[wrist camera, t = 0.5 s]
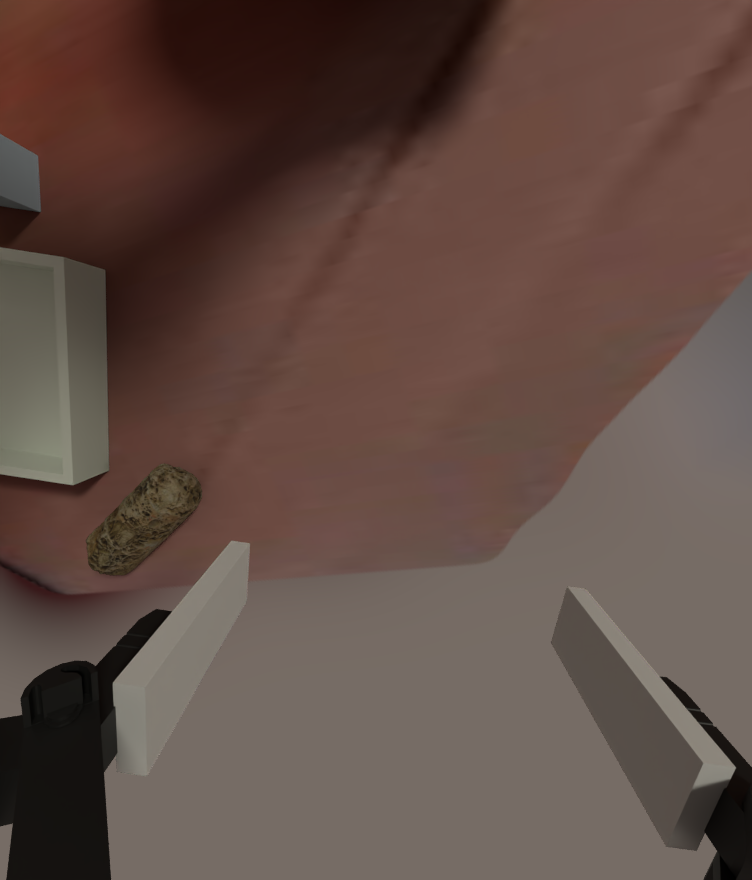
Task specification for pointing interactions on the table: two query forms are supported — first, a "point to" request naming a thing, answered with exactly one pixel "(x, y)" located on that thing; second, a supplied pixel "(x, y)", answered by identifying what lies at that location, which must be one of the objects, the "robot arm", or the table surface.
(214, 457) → the table surface
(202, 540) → the table surface
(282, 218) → the table surface
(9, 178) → the slate cube
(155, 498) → the coral
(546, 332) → the table surface
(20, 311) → the tote
